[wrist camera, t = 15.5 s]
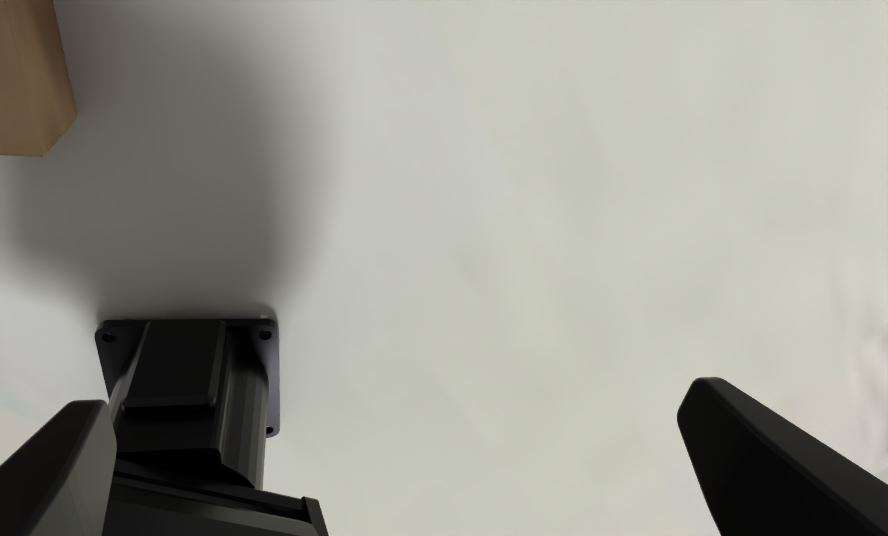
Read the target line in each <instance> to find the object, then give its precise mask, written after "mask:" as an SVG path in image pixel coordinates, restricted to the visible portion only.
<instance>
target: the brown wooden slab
mask: <svg viewBox="0 0 888 536" xmlns="http://www.w3.org/2000/svg"><path fill="white" fill-rule="evenodd" d="M76 117H77V113H76V109H75V104H74V99H73V95H72V90H71V85H70V80H69V76H68V71H67V66H66V62H65V57H64V52H63V48H62V43H61V38H60V33H59V29H58V24H57V19H56V15H55V10H54V5H53V1H52V0H0V155H15V156H39V157H44V155H45V154H46V153H47V152H48V151H49V149H50V148H51V147H52V146H53V145H54V143H55V142H56V141H57V140H58V139H59V137H60V136H61V135H62V134H63V133H64V131H65V130H66V129H67V128H68V126H69V125H70V124H71V123H72V122H73V120H74V119H75V118H76Z"/></svg>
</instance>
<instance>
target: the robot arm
mask: <svg viewBox="0 0 888 536" xmlns="http://www.w3.org/2000/svg"><path fill="white" fill-rule="evenodd" d="M263 330H267V331H269V332H270V333H266V334H265V333H262V332H261V331H263ZM107 332H111V333H114V334H115V336H112V335H109V334H107ZM95 342H96V346H97V350H98V354H99V359H100V363H101V367H102V371H103V376H104V380H105V384H106V389H107V393H108V397H109V403H108V405H107V403H106V402H105V401H104V400H76V401H72V402H70V403H68V404H67V405H65V406H64V407H63V408H62V409H61V410H60V411H59V412H58V413H57V414H56V415H54V416H53V417H52V418H51V419H50V420H49V421H48V422H47V423H46V424H45V425H44V426H43V427H41V428H40V429H39V430H38V431H37V432H36V433H35V434H34V435H33V436H32V437H31V438H30V439H28V440H27V441H26V442H25V443H24V444H23V445H22V446H21V447H20V448H19V449H18V450H17V451H16V452H14V453H13V454H12V455H11V456H10V457H9V458H8V459H7V460H6V461H5V462H4V463H2V464H1V465H0V536H329V535H328V532H327V528H326V525H325V522H324V518H323V515H322V512H321V508H320V505H319V502H318V500H317V499H312V498H308V497H302V498H301V499H299V498H295V497H290V496H286V495H281V494H277V493H272V492H268V491H263V490H262V489H263V473H264V457H265V441H266V438H269V437H273V436H275V435H277V434H278V433H279V430H280V398H279V328H278V325H277V323H276V322H275V321H273V320H271V319H179V320H107V321H104V322H102V323H100V324H99V326H98V327H97V330H96V332H95ZM677 422H678V427H679V429H680V432H681V435H682V438H683V440H684V443H685V446H686V449H687V451H688V454H689V457H690V460H691V462H692V465H693V468H694V471H695V473H696V476H697V479H698V482H699V484H700V487H701V490H702V493H703V495H704V498H705V501H706V503H707V506H708V508H709V510H710V513H711V515H712V517H713V519H714V522H715V524H716V526H717V528H718V530H719V532H720V534H721V536H888V484H886V483H884V482H883V481H881V480H880V479H878V478H877V477H875V476H873V475H872V474H870V473H869V472H867V471H866V470H864V469H863V468H861V467H859V466H858V465H856V464H855V463H853V462H852V461H850V460H849V459H847V458H845V457H844V456H842V455H841V454H839V453H838V452H836V451H835V450H833V449H831V448H830V447H828V446H827V445H825V444H824V443H822V442H821V441H819V440H817V439H816V438H814V437H813V436H811V435H810V434H808V433H807V432H805V431H803V430H802V429H800V428H799V427H797V426H796V425H794V424H793V423H791V422H789V421H788V420H786V419H785V418H783V417H782V416H780V415H778V414H777V413H775V412H774V411H772V410H771V409H769V408H768V407H766V406H764V405H763V404H761V403H760V402H758V401H757V400H755V399H754V398H752V397H750V396H749V395H747V394H746V393H744V392H743V391H741V390H740V389H738V388H736V387H735V386H733V385H732V384H730V383H729V382H727V381H726V380H724V379H722V378H719V377H703V378H697V379H696V380H694V381H693V382H692V384H691V386H690V388H689V390H688V392H687V394H686V395H685V397H684V399H683V401H682V403H681V405H680V407H679V409H678V412H677ZM266 426H270V427H266Z"/></svg>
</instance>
